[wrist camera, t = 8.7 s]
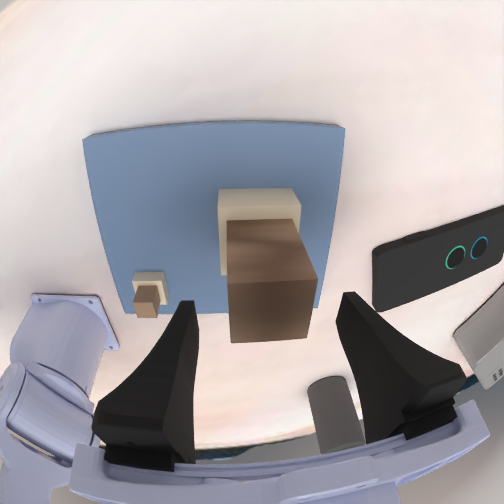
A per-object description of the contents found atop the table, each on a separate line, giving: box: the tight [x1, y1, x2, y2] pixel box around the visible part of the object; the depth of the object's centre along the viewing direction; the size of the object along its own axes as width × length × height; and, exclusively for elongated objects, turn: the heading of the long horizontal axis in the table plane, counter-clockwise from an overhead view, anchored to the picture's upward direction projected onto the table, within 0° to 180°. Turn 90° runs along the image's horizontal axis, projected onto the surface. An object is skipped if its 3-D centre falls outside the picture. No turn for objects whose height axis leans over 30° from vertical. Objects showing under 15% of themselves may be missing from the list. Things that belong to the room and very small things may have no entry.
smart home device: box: [372, 205, 504, 312], centre depth 26 cm, size 8×2×20 cm
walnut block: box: [226, 219, 318, 343], centre depth 16 cm, size 4×4×6 cm
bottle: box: [308, 376, 365, 455], centre depth 31 cm, size 6×6×15 cm
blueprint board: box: [82, 121, 345, 318], centre depth 21 cm, size 18×16×5 cm
